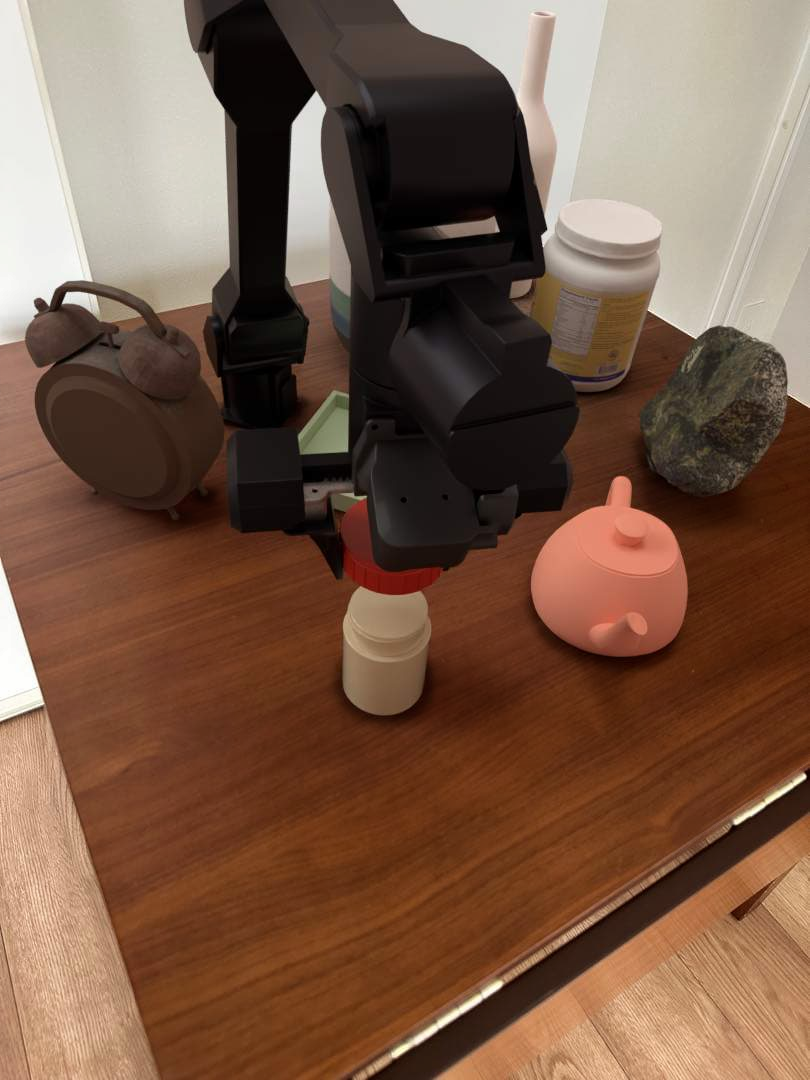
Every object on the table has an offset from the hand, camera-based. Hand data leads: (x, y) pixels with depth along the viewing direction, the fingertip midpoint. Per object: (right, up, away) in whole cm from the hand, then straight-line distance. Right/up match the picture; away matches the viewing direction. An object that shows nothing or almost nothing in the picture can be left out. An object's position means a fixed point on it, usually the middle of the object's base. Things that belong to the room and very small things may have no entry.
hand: (391, 570), depth 49 cm
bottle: (+13, +35, +52) cm, 65 cm away
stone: (+28, +8, +27) cm, 40 cm away
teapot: (+17, -4, +14) cm, 22 cm away
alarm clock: (-22, +6, +20) cm, 30 cm away
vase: (+1, +24, +40) cm, 47 cm away
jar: (-1, -8, +8) cm, 11 cm away
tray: (-4, +10, +25) cm, 27 cm away
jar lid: (0, +2, -2) cm, 3 cm away
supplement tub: (+20, +22, +40) cm, 50 cm away
